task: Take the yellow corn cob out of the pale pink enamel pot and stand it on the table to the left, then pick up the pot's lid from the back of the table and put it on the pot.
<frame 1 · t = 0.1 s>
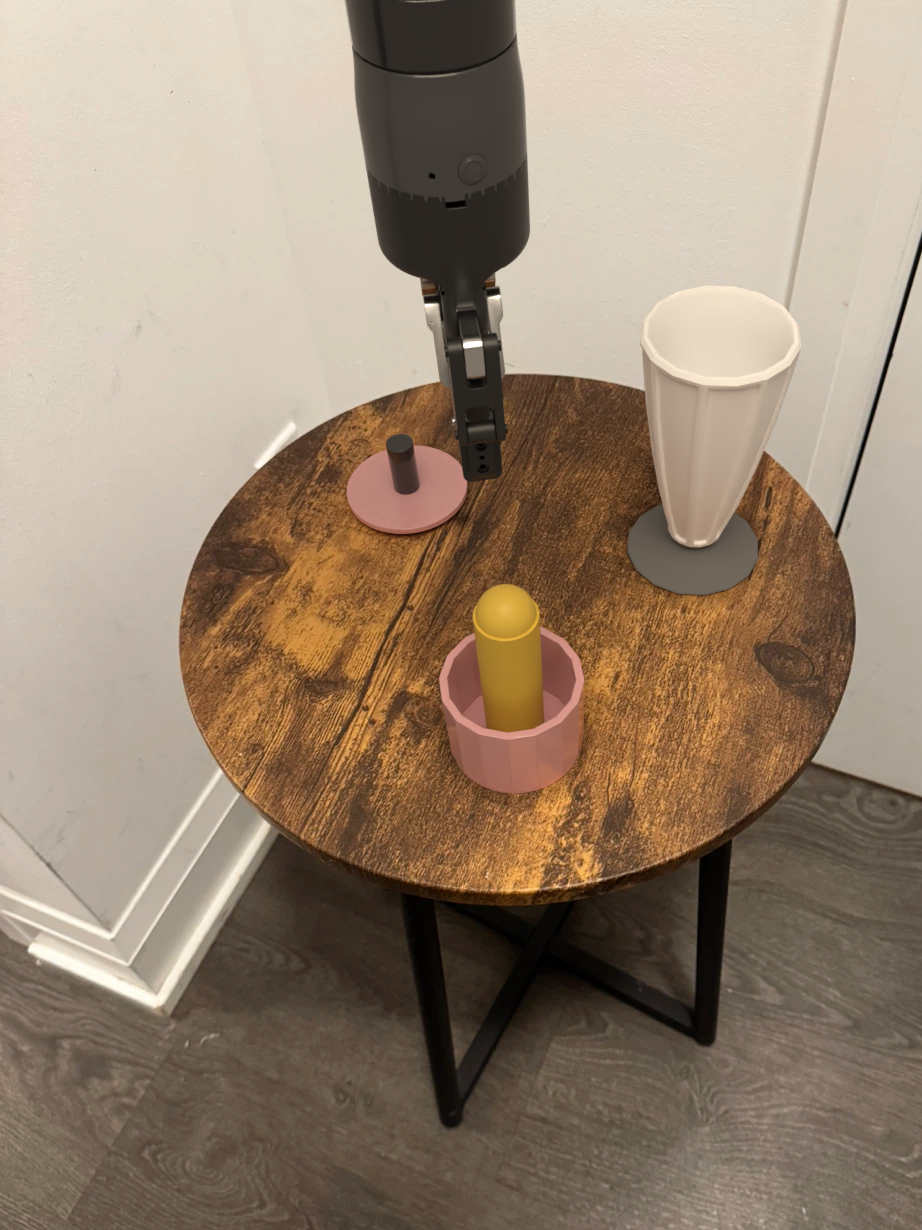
hand: (473, 426, 61), 26 cm above the table, tool pointing down, fingers open, 8 cm apart
lid: (407, 490, 95), point 1 cm above the table
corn: (516, 732, 79), resting on pot
pot: (516, 736, 80), on the table
cup: (692, 548, 91), on the table
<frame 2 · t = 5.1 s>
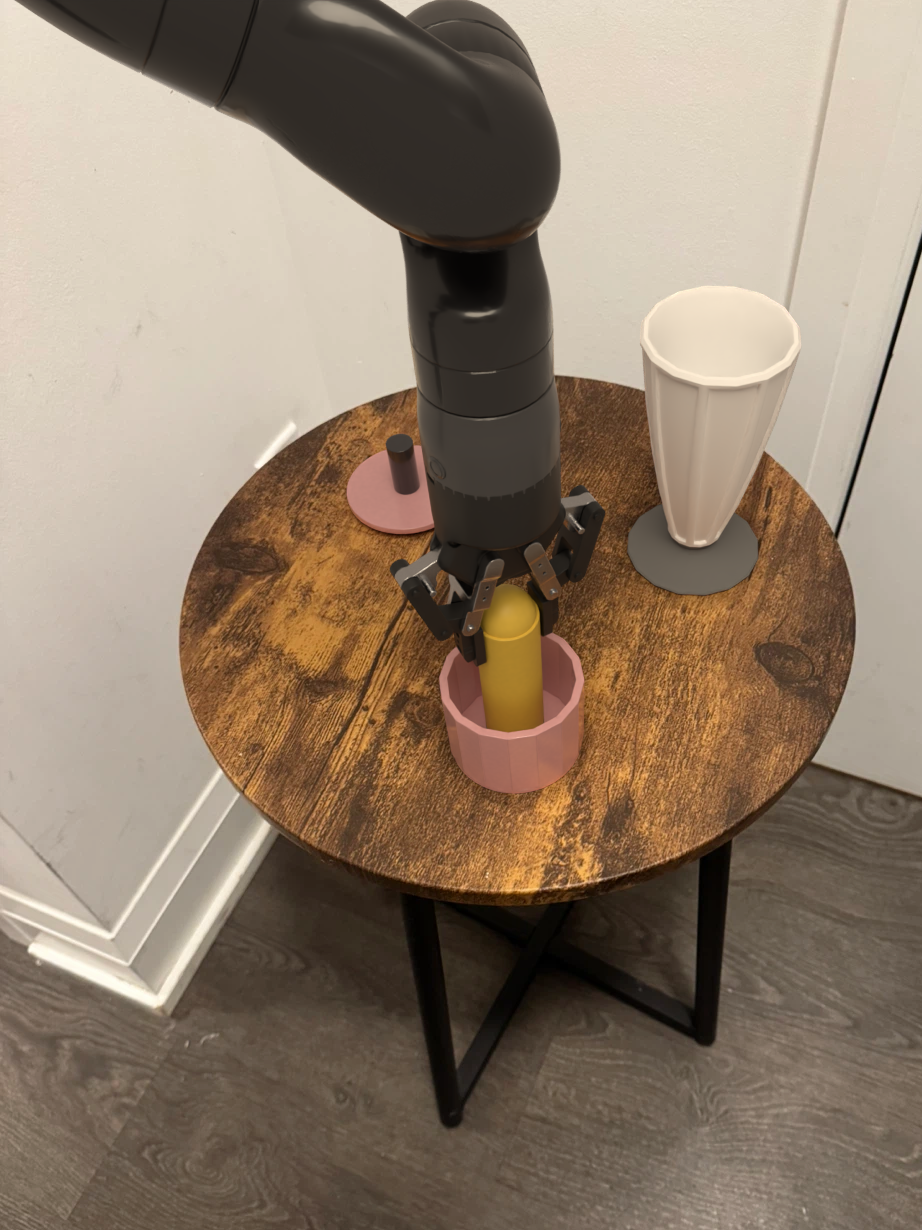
hand: (507, 640, 70), 12 cm above the table, tool pointing down, fingers closed on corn, 4 cm apart
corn: (515, 733, 79), point 1 cm above the table, touching gripper, pot
everything else where it was.
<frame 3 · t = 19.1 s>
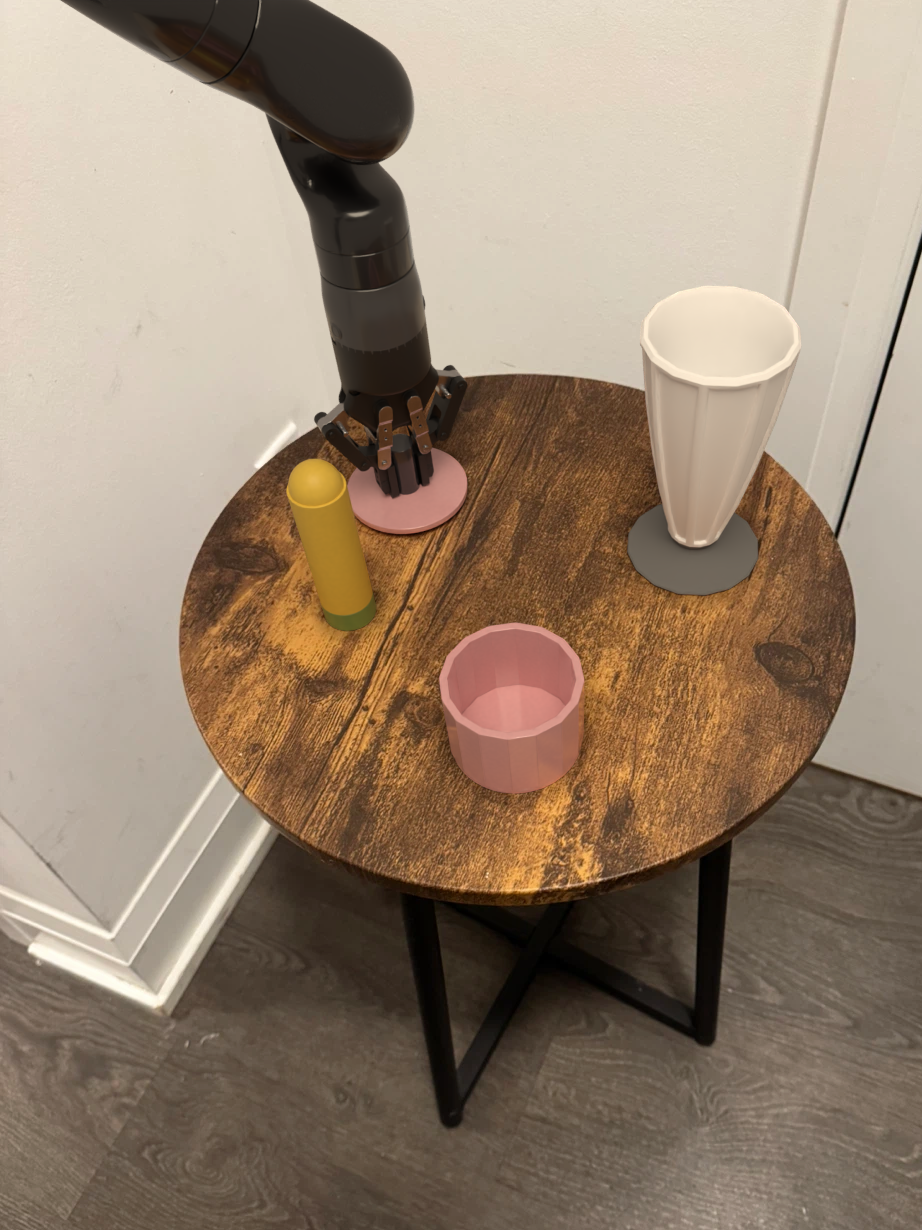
hand: (406, 485, 94), 1 cm above the table, tool pointing down, fingers closed on lid, 2 cm apart
lid: (407, 490, 95), point 1 cm above the table, touching gripper
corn: (350, 611, 88), on the table
everything else where it was.
when the fingers open (8 cm above the table, at t = 27.6 s): lid stays where it is, resting on pot.
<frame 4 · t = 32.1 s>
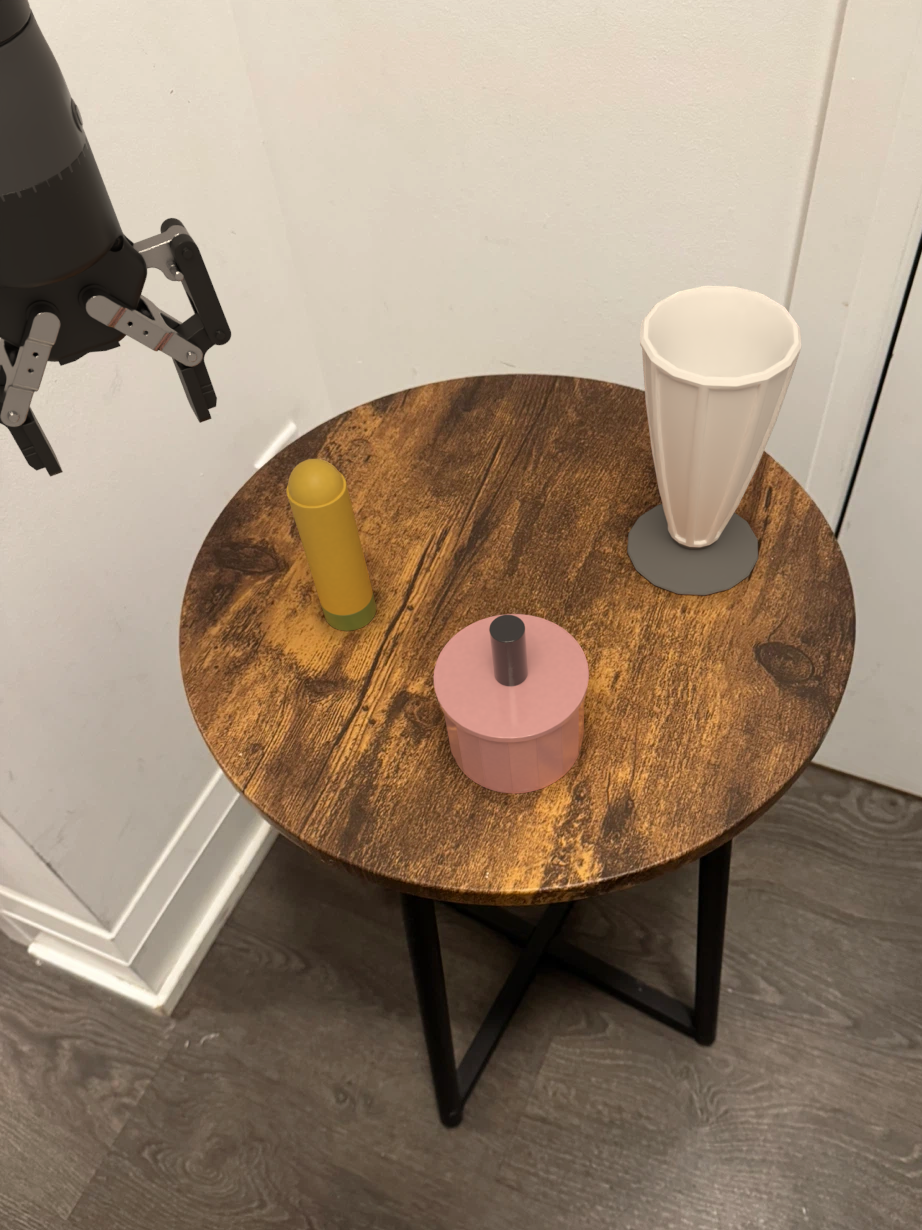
hand: (128, 439, 58), 28 cm above the table, tool pointing down, fingers open, 8 cm apart
lid: (511, 678, 74), point 7 cm above the table, touching pot
everything else where it was.
at the end: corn inside the target area (0.0 cm from its centre), on the table; lid 0.0 cm off-centre on the pot, point 7.5 cm above the pot's base; lid tilted 0° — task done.
